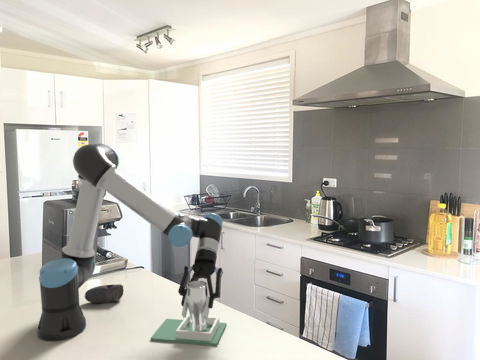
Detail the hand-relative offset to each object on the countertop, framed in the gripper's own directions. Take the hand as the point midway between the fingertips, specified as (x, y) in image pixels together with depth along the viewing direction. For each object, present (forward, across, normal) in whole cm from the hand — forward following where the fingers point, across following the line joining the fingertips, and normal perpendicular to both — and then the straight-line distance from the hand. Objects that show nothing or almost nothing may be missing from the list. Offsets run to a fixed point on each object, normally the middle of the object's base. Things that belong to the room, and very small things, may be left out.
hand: (194, 316), depth 127 cm
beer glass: (+1, 0, -7) cm, 7 cm away
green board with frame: (+3, +3, -8) cm, 9 cm away
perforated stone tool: (-10, +45, -21) cm, 51 cm away
